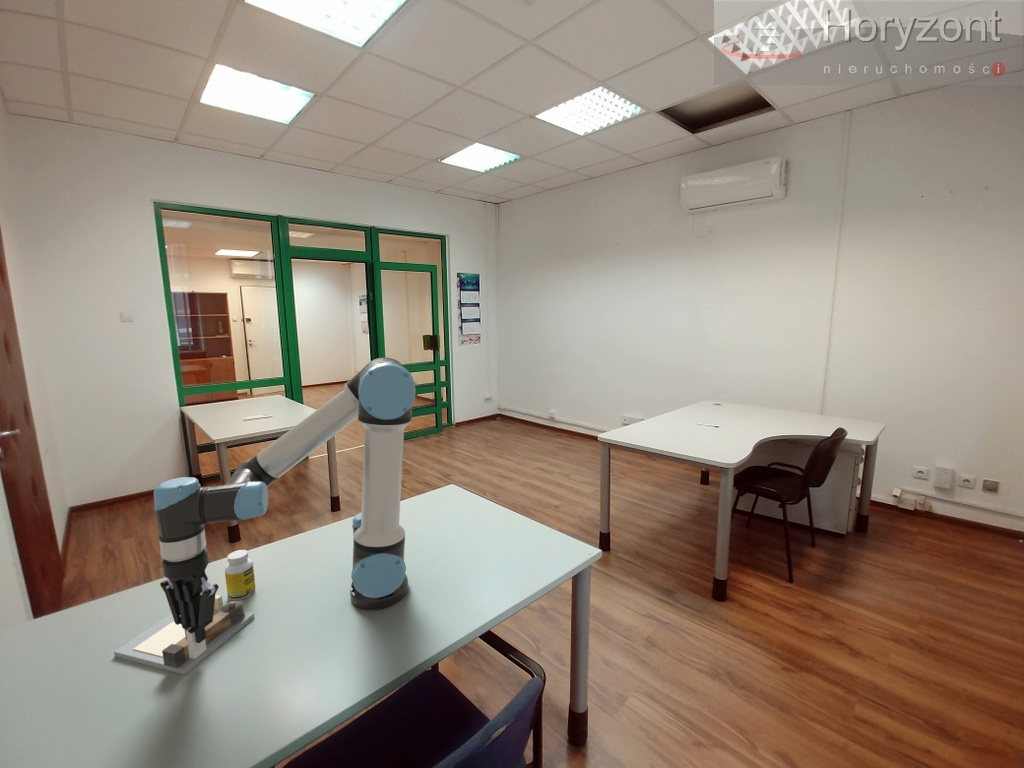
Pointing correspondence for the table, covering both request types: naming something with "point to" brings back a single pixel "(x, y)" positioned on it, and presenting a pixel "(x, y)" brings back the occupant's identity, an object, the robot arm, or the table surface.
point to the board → (174, 642)
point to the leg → (221, 621)
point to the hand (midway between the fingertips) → (198, 653)
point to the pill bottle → (239, 575)
